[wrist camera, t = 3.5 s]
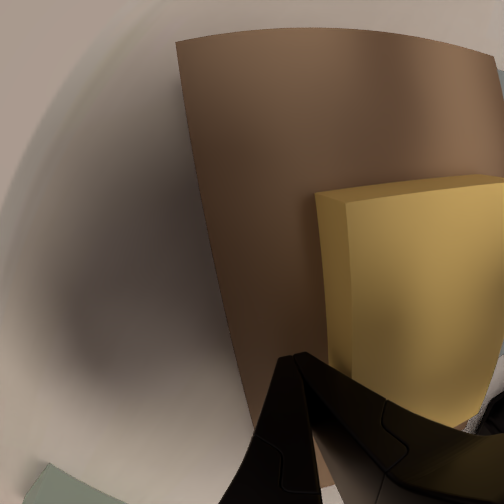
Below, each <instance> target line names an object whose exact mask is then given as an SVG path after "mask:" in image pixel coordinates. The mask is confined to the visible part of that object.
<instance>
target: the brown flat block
mask: <svg viewBox="0 0 504 504" xmlns="http://www.w3.org/2000/svg"><path fill="white" fill-rule="evenodd" d="M175 43H176V50H177V57H178V64H179V71H180V78H181V84H182V91H183V97H184V104H185V110H186V116H187V122H188V128H189V134H190V140H191V146H192V151H193V157H194V162H195V168H196V173H197V179H198V184H199V190H200V195H201V200H202V205H203V210H204V215H205V220H206V225H207V230H208V235H209V240H210V245H211V250H212V255H213V259H214V264H215V269H216V273H217V278H218V283H219V287H220V292H221V296H222V301H223V305H224V310H225V314H226V318H227V323H228V327H229V331H230V335H231V340H232V344H233V348H234V352H235V356H236V360H237V364H238V368H239V372H240V376H241V380H242V384H243V388H244V392H245V396H246V400H247V404H248V408H249V411H250V415H251V419H252V423H253V426H254V430H255V427H256V424H257V421H258V418H259V415H260V412H261V409H262V406H263V403H264V400H265V397H266V394H267V391H268V388H269V385H270V381H271V378H272V375H273V372H274V369H275V365H276V362H277V359H278V358H279V357H282V356H287V355H292V356H293V354H295V353H300V352H304V351H306V352H308V353H310V354H312V355H313V356H315V357H316V358H318V359H320V360H321V361H323V362H325V363H326V364H328V365H329V359H328V337H327V319H326V304H325V291H324V278H323V267H322V256H321V246H320V236H319V227H318V218H317V209H316V201H315V193H317V192H324V191H331V190H338V189H345V188H353V187H360V186H368V185H376V184H384V183H392V182H401V181H410V180H419V179H429V178H439V177H450V176H462V175H474V174H482V175H489V176H496V177H502V178H504V98H503V93H502V88H501V84H500V79H499V75H498V71H497V67H496V63H495V60H494V57H493V56H490V55H487V54H484V53H481V52H478V51H474V50H471V49H467V48H464V47H460V46H456V45H452V44H448V43H444V42H439V41H435V40H430V39H425V38H420V37H414V36H408V35H402V34H395V33H387V32H379V31H369V30H358V29H342V28H279V29H263V30H251V31H241V32H233V33H225V34H218V35H211V36H205V37H199V38H194V39H189V40H184V41H179V42H175ZM468 420H469V419H468ZM468 420H466V421H465V422H463V423H461V424H459V425H457V426H456V427H454V429H457V430H460V431H461V430H463V429H464V428H465V427H466V425H467V422H468ZM313 441H314V448H315V454H316V461H317V467H318V474H319V481H320V488H323V487H327V486H331V485H334V484H335V483H334V480H333V478H332V476H331V474H330V472H329V470H328V467H327V465H326V463H325V461H324V459H323V457H322V454H321V452H320V450H319V448H318V446H317V443H316V441H315V439H314V437H313Z"/></svg>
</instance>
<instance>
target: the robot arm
mask: <svg viewBox="0 0 504 504" xmlns="http://www.w3.org/2000/svg"><path fill="white" fill-rule="evenodd" d="M313 437H314V439H315V441H316V443H317V446H318V448H319V450H320V452H321V454H322V457H323V459H324V461H325V463H326V465H327V467H328V470H329V472H330V474H331V476H332V478H333V480H334V483H335V485H336V487H337V489H338V491H339V493H340V496H341V498H342V500H343V502H344V504H504V392H503V393H502V394H500V395H499V396H497V397H496V398H494V399H493V400H492V401H491V403H490V404H489V406H488V409H487V411H486V413H485V415H484V418H483V420H482V422H481V424H480V426H479V428H478V430H477V433H476V435H473V434H469V433H466V432H463V431H460V430H457V429H454V428H452V427H449V426H446V425H443V424H441V423H438V422H435V421H432V420H430V419H427V418H425V417H423V416H420V415H418V414H415V413H413V412H411V411H409V410H407V409H405V408H403V407H401V406H399V405H397V404H395V403H394V402H392V401H390V400H386V398H384V397H383V396H381V395H379V394H377V393H376V392H374V391H372V390H370V389H369V388H367V387H365V386H363V385H362V384H360V383H358V382H357V381H355V380H353V379H351V378H350V377H348V376H346V375H345V374H343V373H341V372H340V371H338V370H336V369H335V368H333V367H331V366H330V365H328V364H326V363H325V362H323V361H321V360H320V359H318V358H316V357H315V356H313V355H312V354H310V353H308V352H306V351H304V352H300V353H295V354H293V356H292V355H287V356H282V357H279V358H278V359H277V362H276V365H275V369H274V372H273V375H272V378H271V381H270V385H269V388H268V391H267V394H266V397H265V400H264V403H263V406H262V409H261V412H260V415H259V418H258V421H257V424H256V427H255V430H254V433H253V436H252V438H251V441H250V444H249V447H248V449H247V452H246V454H245V456H244V459H243V461H242V463H241V465H240V467H239V469H238V471H237V473H236V475H235V477H234V478H233V480H232V482H231V483H230V485H229V487H228V489H227V490H226V492H225V494H224V495H223V497H222V498H221V500H220V502H219V503H218V504H323V502H322V496H321V488H320V481H319V474H318V467H317V461H316V454H315V448H314V441H313Z"/></svg>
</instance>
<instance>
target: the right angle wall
mask: <svg viewBox="0 0 504 504" xmlns="http://www.w3.org/2000/svg"><path fill="white" fill-rule="evenodd" d="M22 504H127V503H125V502H123V501H120V500H118V499H116V498H114V497H111V496H109V495H107V494H105V493H103V492H101V491H99V490H97V489H95V488H93V487H91V486H89V485H87V484H85V483H83V482H81V481H80V480H78V479H76V478H74V477H72V476H71V475H69V474H67V473H65V472H64V471H62V470H60V469H59V468H57V467H55V466H54V465H52V464H50V463H49V464H48V466H47V467H46V468H45V470H44V471H43V472H42V474H41V475H40V477H39V478H38V479H37V481H36V482H35V483H34V485H33V486H32V487H31V489H30V490H29V492H28V493H27V494H26V496H25V498H24V500H23V503H22Z"/></svg>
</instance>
